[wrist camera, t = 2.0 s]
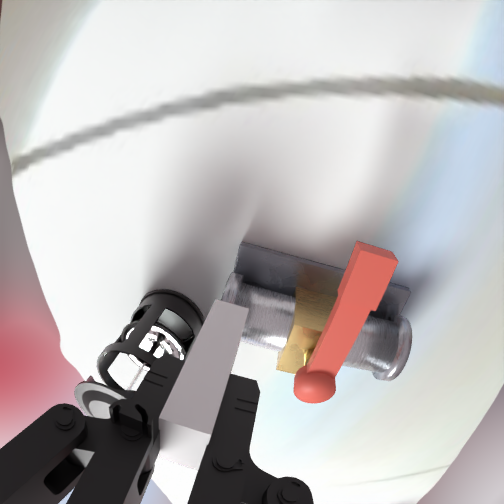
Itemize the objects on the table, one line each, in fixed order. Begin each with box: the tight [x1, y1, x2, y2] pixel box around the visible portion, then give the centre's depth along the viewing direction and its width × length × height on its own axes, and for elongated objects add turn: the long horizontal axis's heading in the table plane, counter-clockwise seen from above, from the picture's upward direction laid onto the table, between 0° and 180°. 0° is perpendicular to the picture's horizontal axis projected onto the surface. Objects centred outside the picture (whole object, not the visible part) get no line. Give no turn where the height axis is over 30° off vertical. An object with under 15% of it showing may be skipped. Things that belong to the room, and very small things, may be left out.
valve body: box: [221, 242, 412, 381], centre depth 31 cm, size 20×12×10 cm, turn 77°
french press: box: [74, 289, 205, 419], centre depth 29 cm, size 12×9×23 cm
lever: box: [294, 241, 398, 403], centre depth 23 cm, size 15×4×2 cm, turn 167°
